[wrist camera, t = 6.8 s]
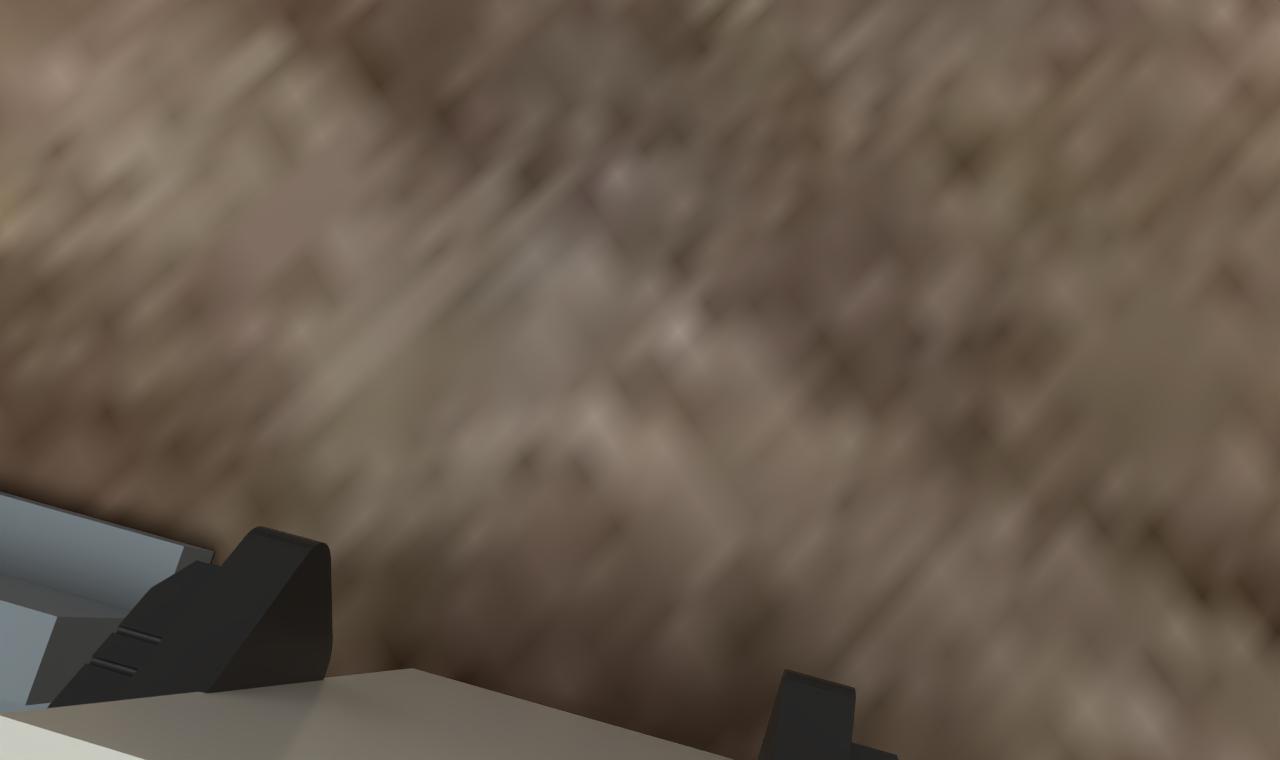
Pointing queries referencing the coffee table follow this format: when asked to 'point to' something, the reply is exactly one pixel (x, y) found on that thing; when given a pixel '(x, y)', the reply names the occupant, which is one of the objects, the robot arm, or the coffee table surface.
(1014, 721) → the coffee table surface
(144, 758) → the off-white rectangular block
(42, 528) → the ribbed grey platform
